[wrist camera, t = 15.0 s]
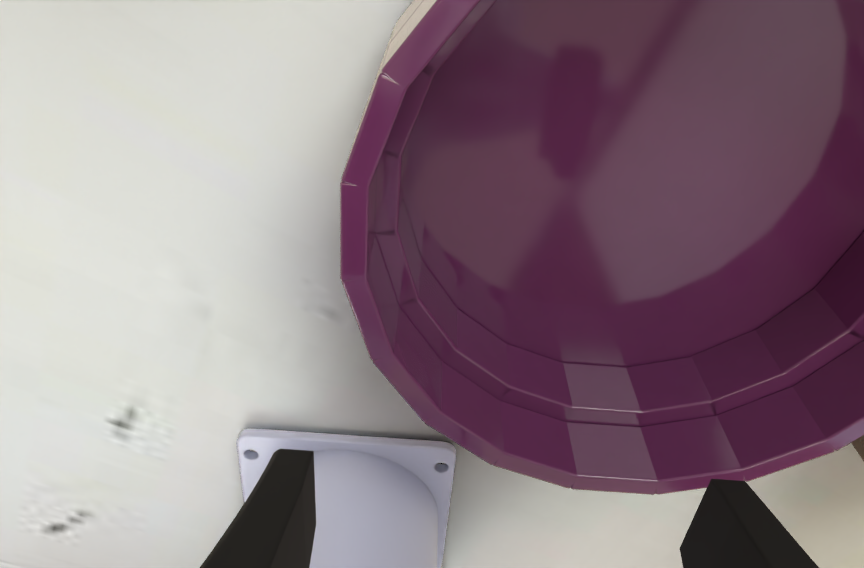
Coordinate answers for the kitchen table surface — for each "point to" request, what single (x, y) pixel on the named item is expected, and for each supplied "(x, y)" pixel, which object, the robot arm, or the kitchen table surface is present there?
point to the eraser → (859, 446)
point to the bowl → (617, 234)
